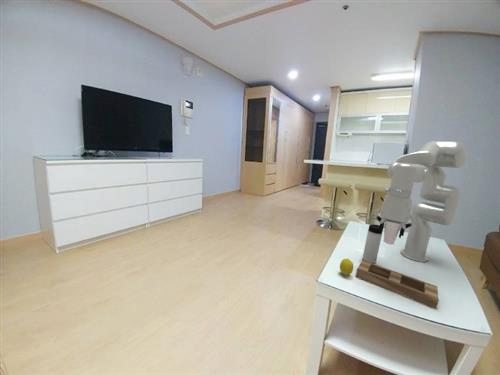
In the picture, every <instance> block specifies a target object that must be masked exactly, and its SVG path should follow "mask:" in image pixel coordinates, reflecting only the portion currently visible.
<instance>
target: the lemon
mask: <svg viewBox="0 0 500 375" xmlns="http://www.w3.org/2000/svg"><path fill="white" fill-rule="evenodd" d="M339 270H340V271H341V273H342V274H343V275H344V276H347V275H348V276H349V275H350V274H352V273H353V270H354V263H353V261H352V260H350V259H349V258H343V259H342V260H341V262H340V264H339Z"/></svg>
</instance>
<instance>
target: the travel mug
mask: <svg viewBox="0 0 500 375" xmlns="http://www.w3.org/2000/svg"><path fill="white" fill-rule="evenodd" d="M379 227H380V224H373V223H371V224H369V225H368V228H367V234H366V239H365V244H364V249H363V255H362V259H361V261H362V260H364V261H367V262H370V263H373V264H375V265H377V264H376V263H377V259H378V255H379V250H380V246H381V241H382V236H383V232H382V233H380V230H379Z"/></svg>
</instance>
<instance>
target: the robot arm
mask: <svg viewBox="0 0 500 375" xmlns="http://www.w3.org/2000/svg"><path fill="white" fill-rule="evenodd" d="M466 162H467V153H466V150H465V147H464V146H463V144H462V143H461V142H459V141H453V140H452V141H450V140H449V141H448V140H447V141H446V140H432V141H428V142H426V143H425V144H424V145H423V146H421V147H420V149H418V151H416V152H411V153H408V154H404V155H401V156H399V157H396V158H395V159H394V160H393V161H392V162H391V163H390V164H389V166H388V167H387V171H386V172H387V176H388V177H389V178H390V179H391V180H390V185H389V188H385V189H384V193H387V194H386V195H385V197H384V200H383V201H382V204H381V208H380V209H378V210H376V211H374V212H373V213H372V214H373V216H374V217H375V218H376V219H377V220H378V222H379V225H380V227H379V230H380V233H382V234H383V232H384V229H385V222H384V221H385V220H386V219H388V220H392V221H397V222H401V224H402V226H401V227H400V229H399V233H398V238H400V239H401V238H402V237H404V235H405V230H406V229H408V228H409V229H408V232H407V236H406V240H405V241H406V242H405V245H404V249H400V254H401V255H402V256H404V258H407V259H410V260H412V261H415V262H420V263H426V262H428V261H429V258H428V256H426V254H427V249H428V246H429V242H430V239H431V234H432V227H431V224H430V223H433V224H438V225H440V226H441V225H442V226H450V225H452V224H453V222H454V219H455V218H456V217H455V216H456V214H457V213H456V212H457V209H458V206H459V203H460V200H461V199H460V198H461V190H460V188H459V187H457V186H454V185H446V184H444V183H445V180H446V177H447V176H446V173H445V171H444V169H443V168H453V169H459V168H462V167H463V166H465V164H466ZM414 183H422V184H421V188H420V190H419V191H420V192H419V197H420V198H421V199H423V200H426V202H424V201H417V202H414V203H413V199H412V198H411V195H412V191H413V187H414ZM427 201H430V202H435V203H440V204H443V205H438V204H435V203H430V202H427ZM409 221H410V222H409Z"/></svg>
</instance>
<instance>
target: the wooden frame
mask: <svg viewBox="0 0 500 375" xmlns="http://www.w3.org/2000/svg"><path fill="white" fill-rule="evenodd" d="M355 278H357V279H360V280H363V281H365V282H368V283H369V284H373V285H375V286H376V287H380V288H382V289H385V290H388V291H390V292H391V293H392V292H393V293H395V294H397V295H398V296H399V295H400V296H402V297H405V298H406V299H407V298H408V299H409V300H412V301H414V302H417V303H420V304H422V305H424V306H428V307H430V308H432V309H435V310H437V307H438V304H439V301H440V300H439V290H438V285H435V284H432V283H428V282H426V281H423V280H421V279H418V278H415V277H413V276H412V277H411V276H409V275H406V274H404V273H400V272H397V271H395V270H392V269H389V268H386V267H383V266H382V265H381V266H380V265H379V264H373V263H370V262H367V261H364V260H362V259H361V261H360V263H359V265H358V266H357V268H356V272H355Z"/></svg>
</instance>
